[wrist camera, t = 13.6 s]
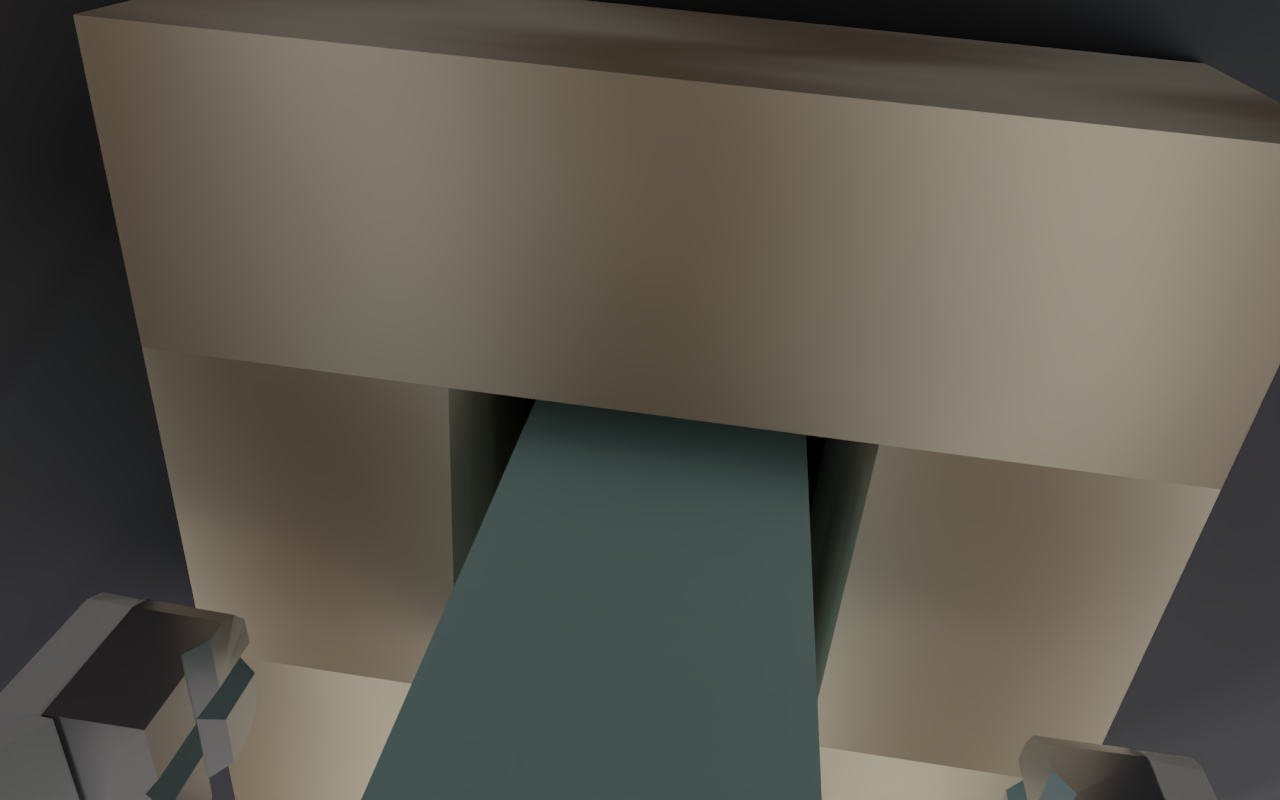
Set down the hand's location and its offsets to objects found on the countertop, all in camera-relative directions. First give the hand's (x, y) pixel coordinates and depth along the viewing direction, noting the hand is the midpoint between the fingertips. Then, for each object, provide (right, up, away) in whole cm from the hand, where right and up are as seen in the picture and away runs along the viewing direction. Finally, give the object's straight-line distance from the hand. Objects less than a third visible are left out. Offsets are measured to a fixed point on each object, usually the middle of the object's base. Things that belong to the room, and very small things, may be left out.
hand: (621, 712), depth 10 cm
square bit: (+1, +3, +5) cm, 6 cm away
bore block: (+1, +3, +5) cm, 6 cm away
